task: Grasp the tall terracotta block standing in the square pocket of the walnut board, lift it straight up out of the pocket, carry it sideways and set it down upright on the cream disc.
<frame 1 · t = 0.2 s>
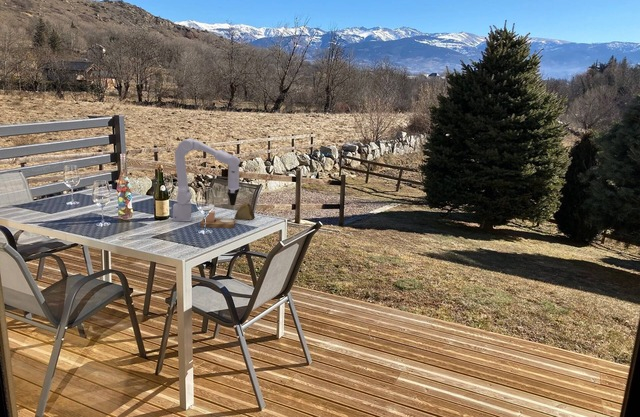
hand: (233, 203, 258), 10 cm above the table, tool pointing down, fingers open, 7 cm apart
cream disc: (226, 221, 251), resting on walnut board
rock: (244, 219, 267), on the table
walnut board: (218, 224, 251), on the table
terracotta block: (210, 224, 251), resting in walnut board
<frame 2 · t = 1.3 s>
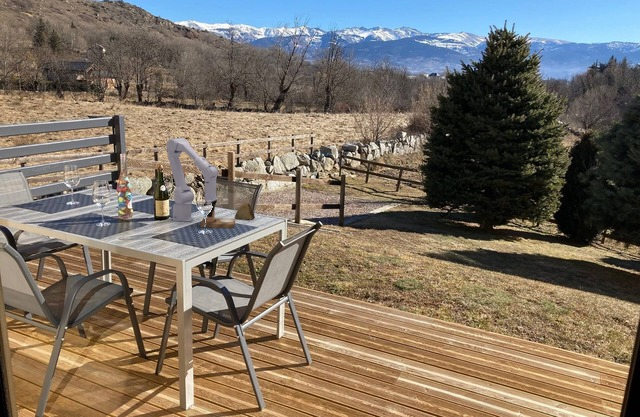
hand: (210, 215, 250), 5 cm above the table, tool pointing down, fingers open, 7 cm apart
nothing on the table moved.
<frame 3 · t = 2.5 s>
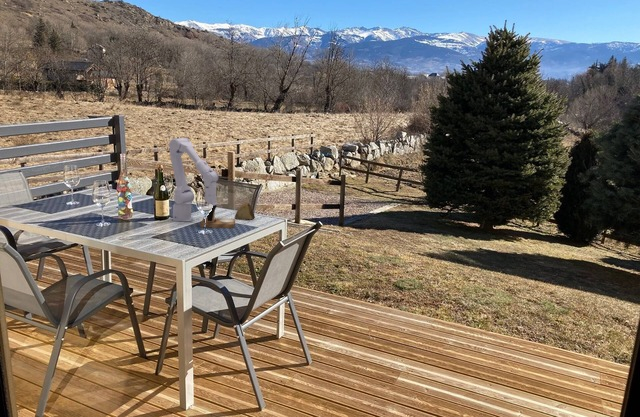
hand: (210, 219, 250), 3 cm above the table, tool pointing down, fingers closed on terracotta block, 4 cm apart
terracotta block: (210, 224, 251), resting in walnut board, touching gripper
everything else where it was.
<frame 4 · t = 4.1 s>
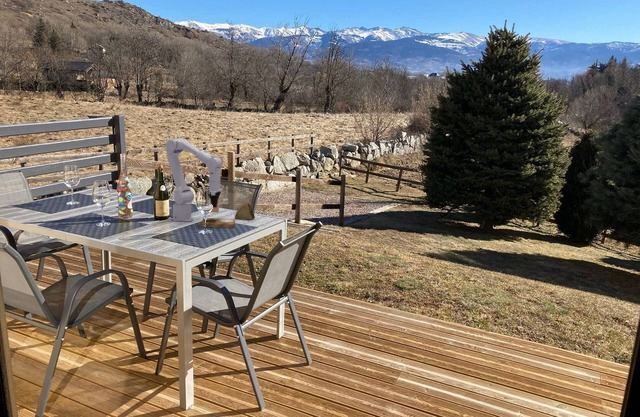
hand: (214, 206, 249), 10 cm above the table, tool pointing down, fingers closed on terracotta block, 4 cm apart
terracotta block: (214, 211, 250), point 7 cm above the table, touching gripper
everything else where it was.
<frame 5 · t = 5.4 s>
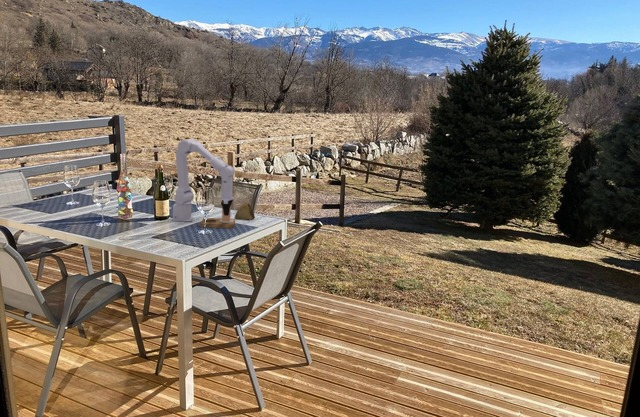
hand: (226, 214, 251), 6 cm above the table, tool pointing down, fingers closed on terracotta block, 4 cm apart
terracotta block: (226, 219, 251), point 3 cm above the table, touching gripper
everything else where it was.
when the fingers open (6 cm above the table, at t = 6.0 s): terracotta block stays where it is, resting on cream disc.
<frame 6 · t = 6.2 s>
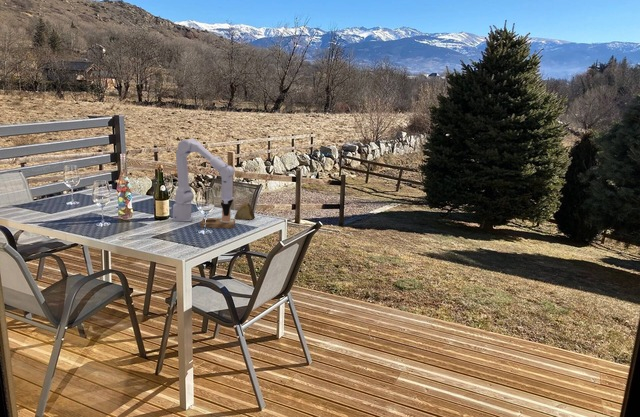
hand: (226, 214, 251), 6 cm above the table, tool pointing down, fingers open, 5 cm apart
terracotta block: (226, 220, 251), point 3 cm above the table, touching cream disc
everything else where it was.
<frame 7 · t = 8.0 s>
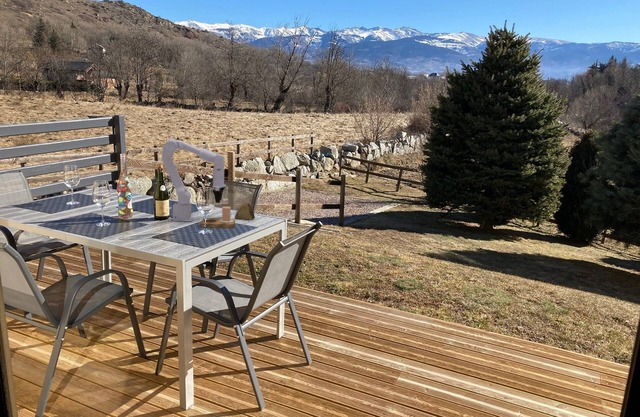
hand: (218, 201, 260), 10 cm above the table, tool pointing down, fingers open, 7 cm apart
nothing on the table moved.
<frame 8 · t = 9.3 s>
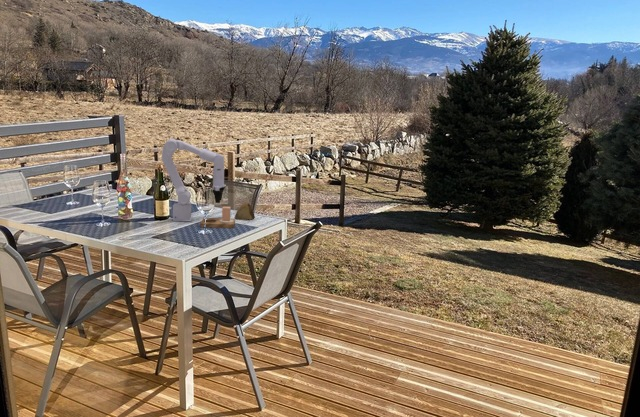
hand: (218, 201, 260), 10 cm above the table, tool pointing down, fingers open, 7 cm apart
nothing on the table moved.
at the end: terracotta block 0.2 cm off-centre on the cream disc, point 0.6 cm above the cream disc's base; terracotta block tilted 0°; the gripper is holding nothing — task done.
